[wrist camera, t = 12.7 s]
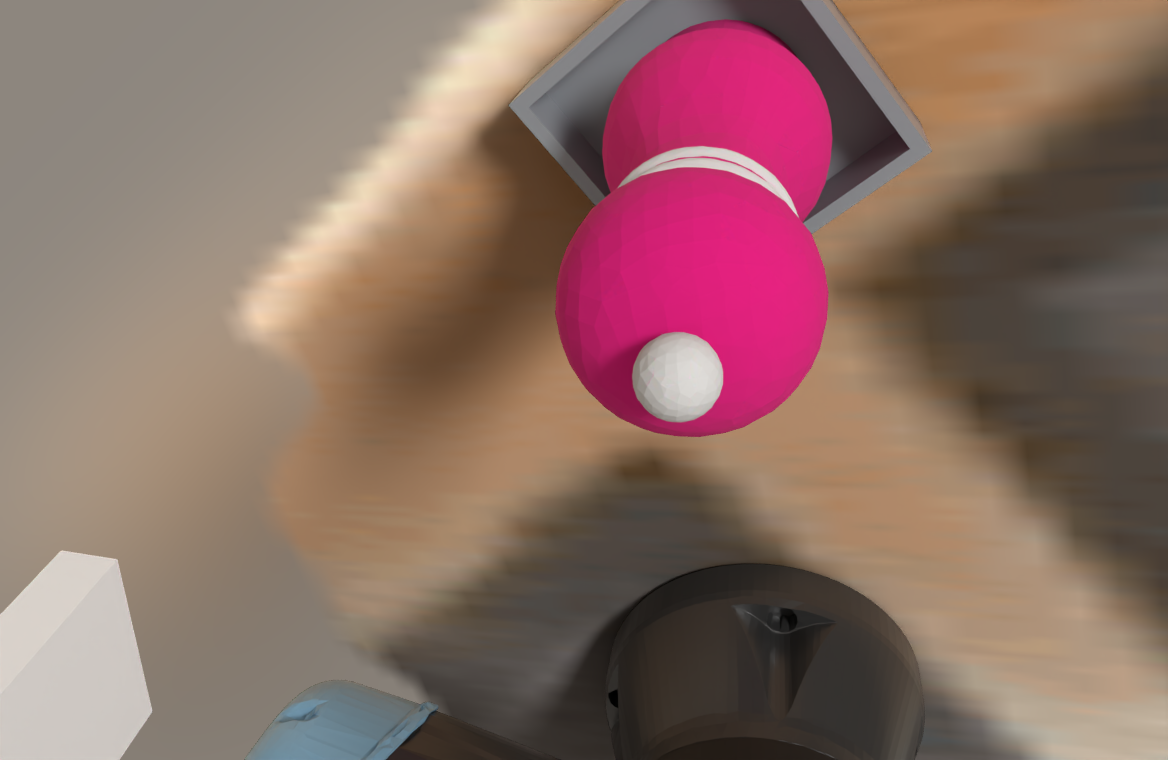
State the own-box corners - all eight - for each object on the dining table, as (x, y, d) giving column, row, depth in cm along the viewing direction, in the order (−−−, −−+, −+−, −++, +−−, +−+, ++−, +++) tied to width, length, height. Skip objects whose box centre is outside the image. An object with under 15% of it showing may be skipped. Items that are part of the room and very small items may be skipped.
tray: (697, 277, 41) (691, 316, 38) (529, 80, 38) (508, 105, 35) (919, 121, 36) (932, 151, 33) (748, -115, 34) (745, -106, 31)
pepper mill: (837, 189, 37) (889, 537, 20) (642, 220, 39) (537, 563, 22) (813, -18, 34) (851, 187, 17) (601, 26, 36) (439, 252, 18)
